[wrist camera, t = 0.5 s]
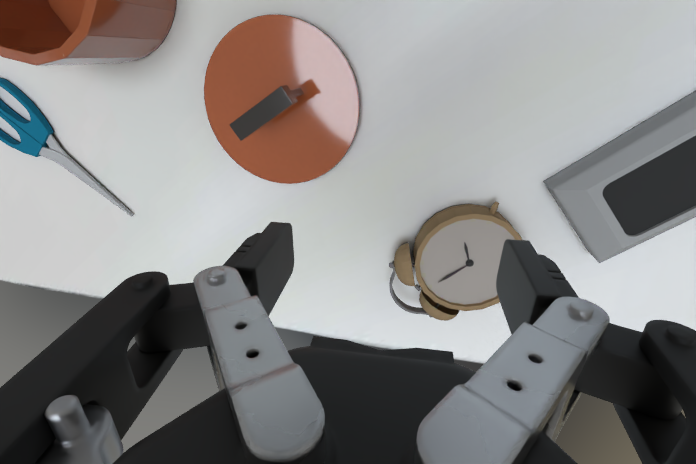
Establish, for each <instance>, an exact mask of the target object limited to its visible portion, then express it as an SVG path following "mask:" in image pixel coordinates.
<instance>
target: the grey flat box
mask: <svg viewBox="0 0 696 464" xmlns="http://www.w3.org/2000/svg"><path fill="white" fill-rule="evenodd" d="M544 183H545V185H546V186H547V188H548V190H549V191H550V193H551V194H552V196H553V197H554V199H555V200H556V202H557V203H558V205H559V207H560V208H561V210H562V211H563V213H564V214H565V216H566V217H567V219H568V220H569V222H570V224H571V225H572V227H573V228H574V230H575V231H576V233H577V234H578V236H579V237H580V239H581V240H582V242H583V244H584V245H585V247H586V248H587V250H588V251H589V252H590V254H591V255H592V256H593V257H594V258H595V259H596V260H597V261H598V262H599V263H601V262H603V261H605V260H607V259H609V258H611V257H613V256H615V255H617V254H620V253H622V252H624V251H626V250H628V249H630V248H632V247H634V246H636V245H638V244H640V243H642V242H645V241H647V240H649V239H651V238H653V237H655V236H657V235H659V234H661V233H663V232H665V231H667V230H669V229H672V228H674V227H676V226H678V225H680V224H682V223H684V222H686V221H688V220H690V219H692V218H694V217H696V91H694V92H693V93H691V94H689V95H688V96H686V97H684V98H683V99H681V100H679V101H678V102H676V103H674V104H673V105H671V106H669V107H668V108H666V109H664V110H663V111H661V112H659V113H658V114H656V115H654V116H653V117H651V118H649V119H648V120H646V121H644V122H643V123H641V124H639V125H637V126H636V127H634V128H632V129H631V130H629V131H627V132H626V133H624V134H622V135H621V136H619V137H617V138H616V139H614V140H612V141H611V142H609V143H607V144H606V145H604V146H602V147H601V148H599V149H597V150H596V151H594V152H592V153H591V154H589V155H587V156H585V157H584V158H582V159H580V160H579V161H577V162H575V163H574V164H572V165H570V166H569V167H567V168H565V169H564V170H562V171H560V172H559V173H557V174H555V175H554V176H552V177H550V178H549V179H547V180H545V181H544Z"/></svg>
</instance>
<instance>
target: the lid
mask: <svg viewBox="0 0 696 464" xmlns="http://www.w3.org/2000/svg"><path fill="white" fill-rule="evenodd" d="M204 99H205V106H206V111H207V115H208V119H209V122H210V125H211V127H212V130H213V132H214V134H215V136H216V138H217V139H218V141H219V143H220V144H221V146H222V147H223V148H224V150H225V151H226V152H227V153H228V155H229V156H230V157H231V158H232V159H233V160H234V161H235V162H236V163H238V164H239V165H240V166H241V167H243V168H244V169H245V170H247V171H249V172H250V173H252V174H254V175H256V176H258V177H260V178H263V179H266V180H269V181H272V182H278V183H288V184H291V183H301V182H306V181H309V180H312V179H315V178H317V177H319V176H321V175H323V174H325V173H326V172H328V171H329V170H331V169H332V168H333V167H334V166H335V165H336V164H337V163H338V162H339V161H340V160H341V159H342V158H343V156H344V155H345V154H346V152H347V151H348V149H349V147H350V146H351V144H352V141H353V139H354V137H355V134H356V130H357V127H358V122H359V115H360V99H359V91H358V86H357V82H356V78H355V76H354V73H353V70H352V68H351V66H350V64H349V62H348V60H347V58H346V57H345V55H344V54H343V52H342V51H341V49H340V48H339V47H338V46H337V45H336V43H335V42H334V41H333V40H332V39H331V38H330V37H329V36H328V35H326V34H325V33H324V32H323V31H321V30H320V29H318V28H317V27H315V26H314V25H312V24H310V23H308V22H306V21H304V20H301V19H298V18H294V17H291V16H285V15H263V16H258V17H255V18H252V19H248V20H246V21H244V22H242V23H241V24H239V25H237V26H236V27H234V28H233V29H232V30H230V31H229V32H228V33H227V34H226V35H225V36H224V37H223V38H222V40H221V41H220V42H219V44H218V45H217V47H216V48H215V50H214V52H213V54H212V56H211V58H210V61H209V64H208V67H207V71H206V76H205V84H204Z"/></svg>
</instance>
